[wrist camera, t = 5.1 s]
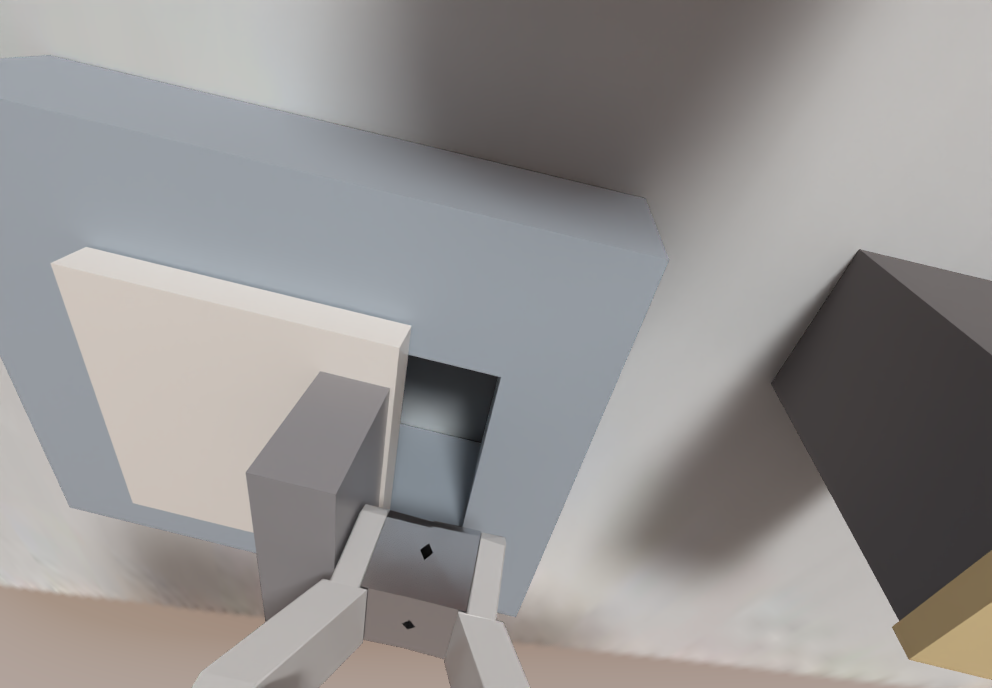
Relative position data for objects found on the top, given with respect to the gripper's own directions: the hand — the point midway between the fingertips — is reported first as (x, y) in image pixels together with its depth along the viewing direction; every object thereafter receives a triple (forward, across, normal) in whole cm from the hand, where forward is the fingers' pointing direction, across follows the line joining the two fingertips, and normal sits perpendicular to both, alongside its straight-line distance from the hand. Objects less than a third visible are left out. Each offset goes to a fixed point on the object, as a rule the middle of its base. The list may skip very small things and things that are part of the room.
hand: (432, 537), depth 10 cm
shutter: (+2, +5, 0) cm, 5 cm away
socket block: (+6, +4, 0) cm, 7 cm away
